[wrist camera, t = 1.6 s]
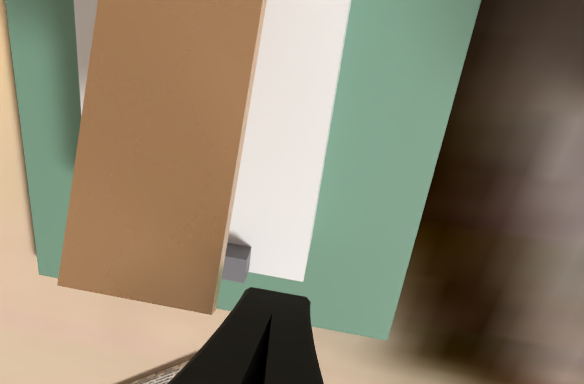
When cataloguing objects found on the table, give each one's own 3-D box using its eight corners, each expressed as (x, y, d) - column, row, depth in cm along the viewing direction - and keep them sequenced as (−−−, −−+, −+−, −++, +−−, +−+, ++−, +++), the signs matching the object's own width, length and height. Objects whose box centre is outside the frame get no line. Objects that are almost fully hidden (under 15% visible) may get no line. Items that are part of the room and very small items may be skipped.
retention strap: (294, -169, 14) (292, -184, 13) (216, 308, 14) (211, 314, 14) (136, -190, 14) (127, -206, 13) (68, 280, 15) (57, 285, 14)
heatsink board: (622, -538, 12) (744, -756, 8) (387, 328, 25) (388, 415, 21) (-50, -596, 13) (-244, -817, 9) (48, 264, 26) (-16, 335, 22)
